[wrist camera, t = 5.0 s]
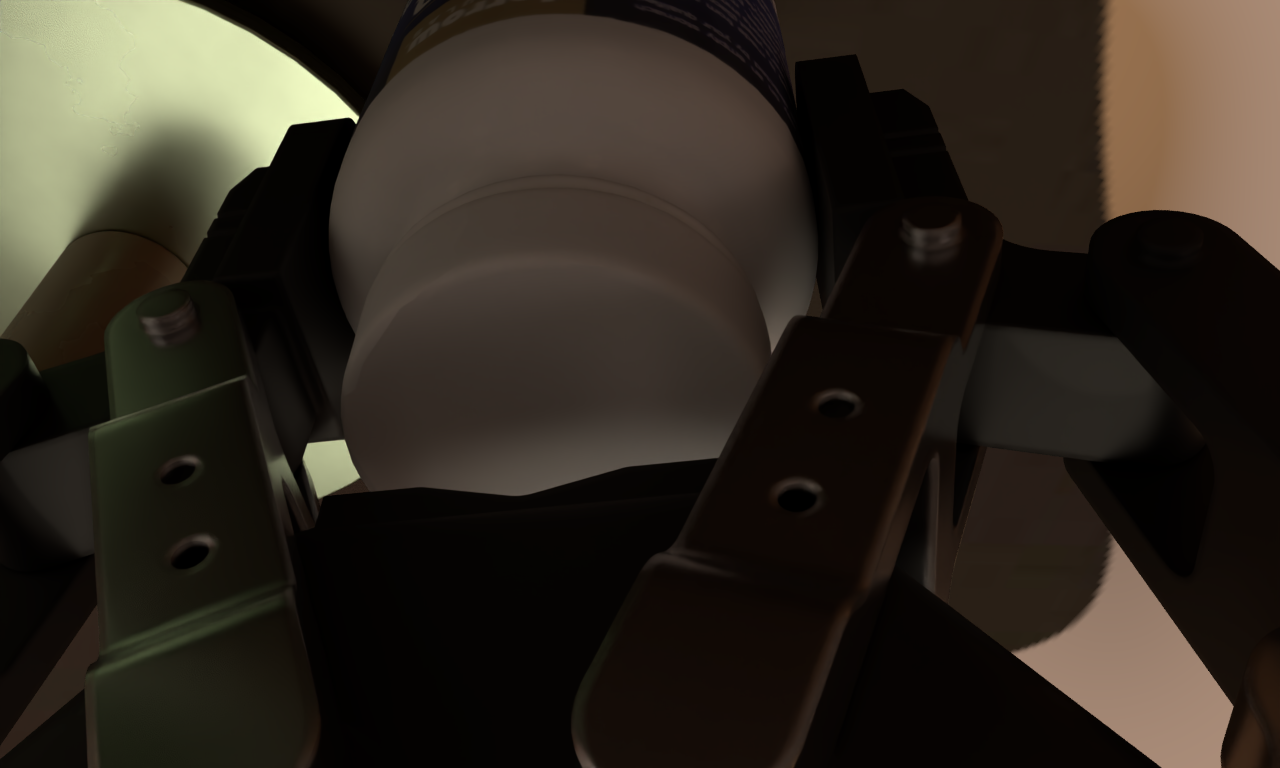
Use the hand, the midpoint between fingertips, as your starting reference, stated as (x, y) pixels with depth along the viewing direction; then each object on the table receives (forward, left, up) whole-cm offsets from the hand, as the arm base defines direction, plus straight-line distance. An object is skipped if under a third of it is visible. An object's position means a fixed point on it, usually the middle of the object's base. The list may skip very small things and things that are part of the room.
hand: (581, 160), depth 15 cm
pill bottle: (0, 0, -5) cm, 5 cm away
